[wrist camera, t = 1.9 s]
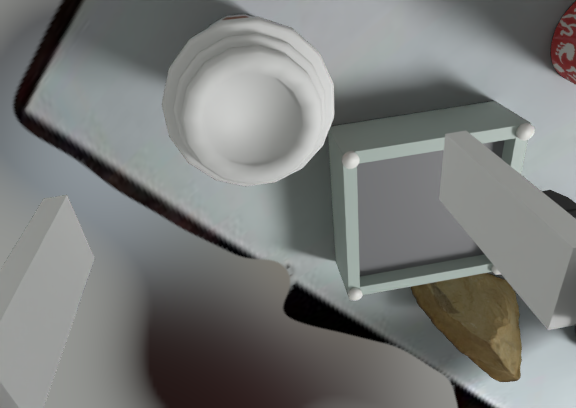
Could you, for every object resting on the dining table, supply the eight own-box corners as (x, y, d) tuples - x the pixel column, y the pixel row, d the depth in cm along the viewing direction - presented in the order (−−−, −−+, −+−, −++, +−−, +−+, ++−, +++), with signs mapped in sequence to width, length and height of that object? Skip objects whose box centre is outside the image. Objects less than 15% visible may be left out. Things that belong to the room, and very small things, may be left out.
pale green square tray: (475, 237, 44) (505, 273, 40) (334, 262, 43) (349, 302, 39) (496, 99, 37) (536, 124, 32) (326, 126, 36) (342, 155, 31)
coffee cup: (316, 101, 35) (358, 173, 24) (203, 137, 35) (200, 222, 25) (284, -27, 30) (321, -3, 19) (153, 16, 30) (123, 62, 20)
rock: (388, 312, 45) (444, 364, 48) (457, 330, 37) (518, 390, 41) (436, 227, 48) (485, 281, 52) (508, 228, 41) (560, 291, 44)
